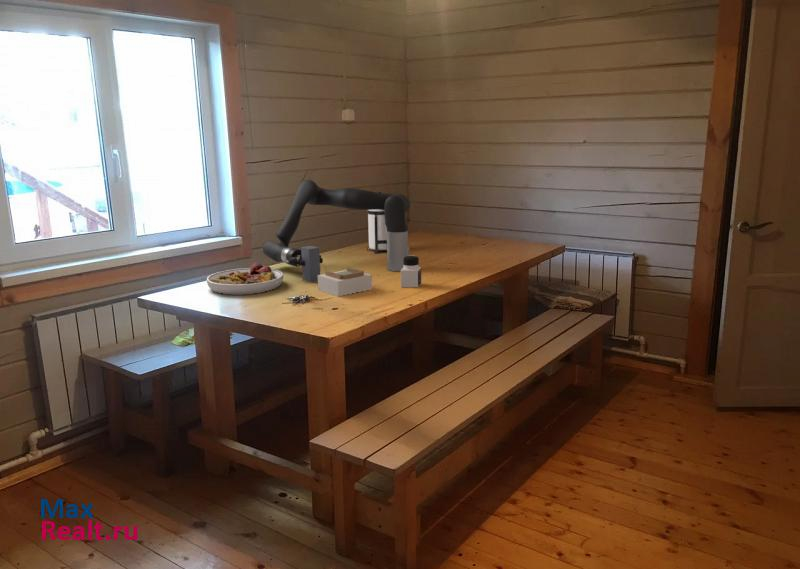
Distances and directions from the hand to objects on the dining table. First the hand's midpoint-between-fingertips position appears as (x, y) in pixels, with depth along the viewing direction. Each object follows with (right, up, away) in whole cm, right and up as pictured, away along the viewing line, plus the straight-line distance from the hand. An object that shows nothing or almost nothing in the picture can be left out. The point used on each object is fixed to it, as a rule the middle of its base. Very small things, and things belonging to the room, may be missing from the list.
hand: (313, 262), depth 278 cm
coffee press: (+27, +8, +63) cm, 69 cm away
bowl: (-26, -11, -6) cm, 29 cm away
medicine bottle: (+40, -10, -8) cm, 42 cm away
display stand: (+14, -11, -13) cm, 23 cm away
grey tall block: (-1, -7, +3) cm, 8 cm away
